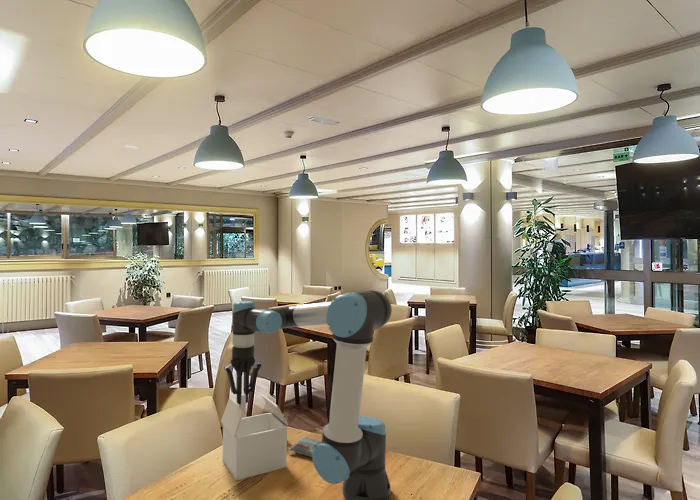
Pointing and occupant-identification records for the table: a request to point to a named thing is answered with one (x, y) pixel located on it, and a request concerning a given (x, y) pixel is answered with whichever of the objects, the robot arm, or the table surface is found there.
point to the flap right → (274, 409)
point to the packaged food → (305, 446)
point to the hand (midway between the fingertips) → (242, 412)
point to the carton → (255, 446)
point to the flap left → (232, 417)
